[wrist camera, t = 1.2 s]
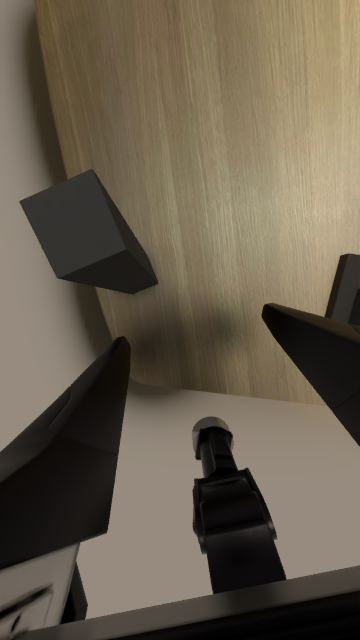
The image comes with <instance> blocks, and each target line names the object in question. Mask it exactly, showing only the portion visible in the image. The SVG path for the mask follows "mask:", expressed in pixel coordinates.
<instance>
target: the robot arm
mask: <svg viewBox="0 0 360 640" xmlns="http://www.w3.org/2000/svg"><path fill="white" fill-rule="evenodd" d="M262 319H263V321H264V322H265V324H266V325H267V327H268V329H269V330H270V332H271V333H272V335H273V336H274V338H275V339H276V341H277V342H278V343H279V344H280V346H281V347H282V348H283V350H284V351H285V352H286V353H287V355H288V356H289V357H290V358H291V360H292V361H293V362H294V364H295V365H296V366H297V367H298V369H299V370H300V371H301V372H302V374H303V375H304V376H305V378H306V379H307V380H308V381H309V383H310V384H311V385H312V386H313V388H314V389H315V390H316V391H317V393H318V394H319V395H320V397H321V398H322V399H323V400H324V402H325V403H326V404H327V405H328V407H329V408H330V409H331V410H332V412H333V413H334V415H335V416H336V417H337V418H338V420H339V421H340V422H341V423H342V425H343V426H344V427H345V429H346V430H347V431H348V432H349V433H350V435H351V436H352V437H353V439H354V440H355V441H356V443H357V444H358V445H359V446H360V327H359V326H356V325H352V324H351V325H350V324H348V323H344V322H341V321H337V320H333V319H330V318H326V317H322V316H319V315H315V314H311V313H307V312H304V311H300V310H296V309H293V308H289V307H285V306H282V305H278V304H274V303H268V304H265V305H264V306H263V310H262ZM130 354H131V347H130V344H129V342H128V341H127V339H126V337H125V336H121V337H118V338H116V339H115V340H114V341H113V342H112V344H111V345H110V346H109V347H108V348H107V349H106V350H105V351H104V352H103V353H102V354H101V355H100V356H99V357H98V358H97V359H96V360H95V361H94V362H93V363H92V364H91V365H90V366H89V367H88V368H87V369H86V370H85V371H84V372H83V373H82V374H81V375H80V376H79V377H78V379H76V380H75V381H74V382H73V384H71V387H68V388H67V389H66V391H65V392H64V393H63V394H62V395H61V396H60V397H59V398H58V399H57V400H56V401H55V402H54V403H53V404H52V405H50V406H49V407H48V408H47V409H46V410H45V411H44V412H43V413H42V414H41V415H40V416H39V417H38V418H37V419H36V420H34V421H33V422H32V423H31V424H30V425H29V426H28V427H27V428H26V429H25V430H24V431H23V432H21V433H20V434H19V435H18V436H17V437H16V438H15V439H14V440H13V441H12V442H11V443H10V444H9V445H7V446H6V447H5V448H4V449H3V450H2V451H1V452H0V640H360V566H355V567H349V568H344V569H339V570H334V571H329V572H324V573H319V574H314V575H309V576H304V577H299V578H294V579H289V580H287V579H286V575H285V572H284V569H283V566H282V563H281V561H280V557H279V555H278V552H277V549H276V546H275V543H274V540H276V539H277V535H276V531H275V528H274V525H273V522H272V519H271V516H270V513H269V511H268V508H267V506H266V503H265V501H264V499H263V496H262V494H261V492H260V490H259V488H258V487H257V484H256V482H255V481H254V479H253V477H252V475H251V473H250V471H249V469H248V468H245V469H244V470H238V469H237V466H236V464H235V461H234V458H233V455H232V452H231V449H230V448H231V443H232V438H233V434H232V433H231V432H230V431H221V430H212V429H203V428H202V429H200V430H199V435H198V441H197V447H196V453H195V458H196V459H197V460H201V462H202V469H203V475H204V478H201V479H197V478H196V479H194V482H195V483H194V484H195V486H194V488H193V504H194V508H193V531H194V533H195V534H196V535H197V537H198V541H199V544H200V548H201V552H202V554H207V558H208V565H209V572H210V578H211V585H212V591H213V595H208V596H203V597H198V598H192V599H187V600H182V601H177V602H172V603H167V604H162V605H157V606H152V607H147V608H142V609H137V610H132V611H127V612H122V613H116V614H111V615H107V616H101V617H96V618H91V619H86V620H85V617H86V612H87V607H88V604H87V600H86V596H85V593H84V589H83V585H82V581H81V577H80V573H79V570H78V566H77V562H76V559H77V554H78V551H79V546H80V542H83V541H86V540H88V539H91V538H94V537H97V536H100V535H103V534H106V533H107V530H108V524H109V518H110V511H111V503H112V497H113V489H114V482H115V475H116V468H117V460H118V453H119V446H120V438H121V431H122V423H123V417H124V410H125V403H126V395H127V388H128V381H129V374H130Z"/></svg>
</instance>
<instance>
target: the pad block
mask: <svg viewBox="0 0 360 640" xmlns="http://www.w3.org/2000/svg"><path fill="white" fill-rule="evenodd" d="M20 204H21V206H22V208H23V210H24V212H25V214H26V216H27V218H28V220H29V222H30V224H31V226H32V228H33V230H34V232H35V235H36V236H37V238H38V240H39V242H40V244H41V247H42V249H43V250H44V253H45V255H46V257H47V259H48V261H49V263H50V265H51V267H52V269H53V271H54V273H55V275H56V277H57V278H59V279H63V280H68V281H72V282H77V283H82V284H86V285H91V286H95V287H100V288H105V289H109V290H114V291H119V292H123V293H128V294H134V293H136V292H139V291H141V290H144V289H146V288H149V287H151V286H153V285H156V284H158V281H157V278H156V276H155V273H154V271H153V268H152V266H151V263H150V261H149V259H148V256H147V254H146V253H145V251H144V249H143V248H142V246H141V245H140V243H139V242H138V240H137V238H136V237H135V235H134V234H133V232H132V230H131V229H130V227H129V226H128V224H127V223H126V221H125V219H124V218H123V216H122V215H121V213H120V211H119V210H118V208H117V207H116V205H115V204H114V202H113V200H112V199H111V197H110V196H109V194H108V192H107V191H106V189H105V188H104V186H103V185H102V183H101V181H100V180H99V178H98V177H97V175H96V173H95V172H94V170H93V169H90V170H88V171H86V172H84V173H81V174H79V175H77V176H75V177H72V178H70V179H68V180H66V181H64V182H61V183H59V184H57V185H55V186H52V187H50V188H48V189H46V190H44V191H41V192H39V193H37V194H34V195H32V196H30V197H28V198H25V199H23V200H21V201H20Z"/></svg>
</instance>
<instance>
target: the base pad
mask: <svg viewBox="0 0 360 640" xmlns="http://www.w3.org/2000/svg"><path fill="white" fill-rule="evenodd" d="M325 317H326V318H330V319H333V320H337V321H341V322H344V323H348V324H350V325H351V324H352V325H356V326H359V327H360V255H355V254H345V255H342V256H341V258H340V262H339V265H338V269H337V273H336V277H335V281H334V285H333V289H332V293H331V296H330V300H329V304H328V308H327V312H326V316H325Z"/></svg>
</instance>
